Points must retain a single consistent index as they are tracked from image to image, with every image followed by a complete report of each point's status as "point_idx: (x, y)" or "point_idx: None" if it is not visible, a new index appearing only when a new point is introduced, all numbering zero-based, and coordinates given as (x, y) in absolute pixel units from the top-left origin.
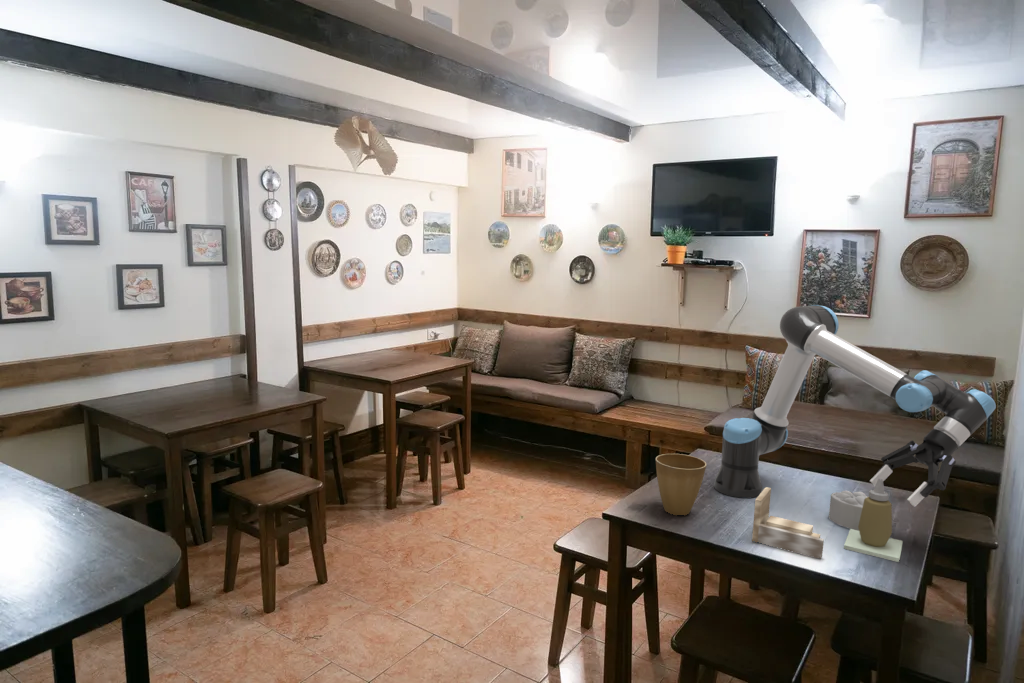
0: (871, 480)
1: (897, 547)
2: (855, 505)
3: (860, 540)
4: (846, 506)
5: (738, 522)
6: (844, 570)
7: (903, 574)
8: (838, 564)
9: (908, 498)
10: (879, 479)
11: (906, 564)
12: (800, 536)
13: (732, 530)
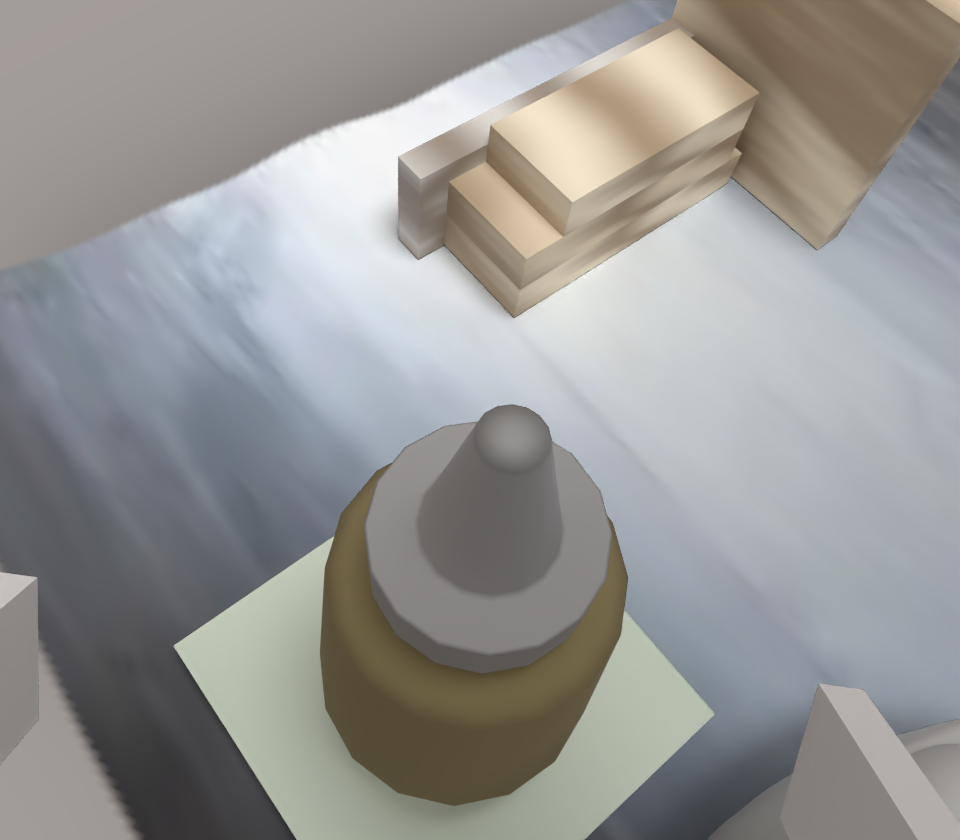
0: (847, 698)
1: (319, 815)
2: None
3: None
4: (905, 738)
5: (897, 166)
6: (251, 253)
7: (51, 525)
8: (317, 275)
9: (15, 584)
10: (519, 427)
11: (134, 679)
12: (499, 108)
13: None
